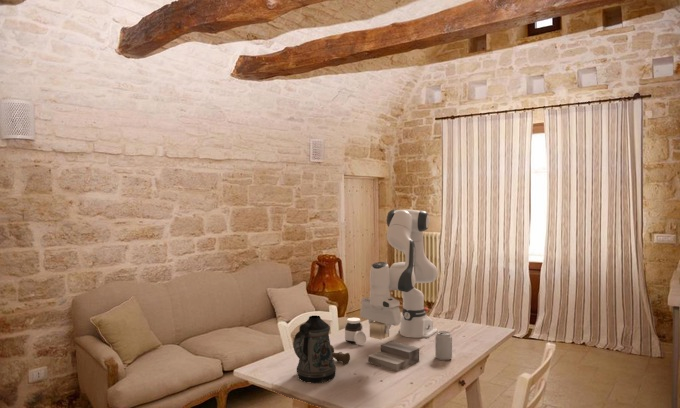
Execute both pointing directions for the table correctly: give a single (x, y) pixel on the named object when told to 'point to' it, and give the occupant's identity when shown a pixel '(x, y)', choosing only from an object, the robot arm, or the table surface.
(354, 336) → the spread jar
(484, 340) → the table surface
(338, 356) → the kendama
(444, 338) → the can
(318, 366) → the beer stein
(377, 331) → the maple cube
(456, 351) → the table surface
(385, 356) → the stair block
